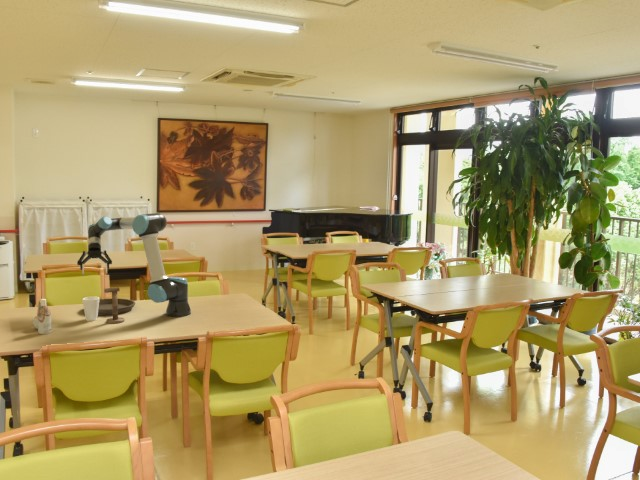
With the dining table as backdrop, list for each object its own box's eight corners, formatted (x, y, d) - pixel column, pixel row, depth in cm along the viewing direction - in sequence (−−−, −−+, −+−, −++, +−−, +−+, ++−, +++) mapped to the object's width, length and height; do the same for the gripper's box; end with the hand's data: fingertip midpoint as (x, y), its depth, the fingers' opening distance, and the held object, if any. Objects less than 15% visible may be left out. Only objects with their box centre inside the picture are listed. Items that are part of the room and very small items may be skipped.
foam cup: (83, 322, 345) (83, 300, 343) (82, 318, 353) (81, 297, 351) (101, 320, 349) (100, 299, 347) (99, 316, 357) (98, 296, 356)
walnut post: (126, 321, 347) (126, 288, 345) (109, 324, 341) (108, 290, 338) (120, 318, 355) (119, 285, 352) (103, 320, 348) (102, 287, 346)
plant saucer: (128, 302, 396) (128, 295, 395) (141, 312, 370) (141, 305, 370) (79, 307, 379) (79, 300, 379) (89, 318, 354) (89, 311, 353)
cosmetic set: (31, 324, 339) (29, 292, 337) (48, 322, 344) (47, 290, 342) (36, 335, 318) (34, 301, 316) (54, 333, 323) (53, 299, 321)
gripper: (115, 248, 381) (116, 275, 369) (73, 249, 372) (73, 277, 360) (115, 241, 375) (116, 268, 363) (73, 242, 366) (72, 270, 355)
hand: (94, 273), depth 362 cm, fingers open, 13 cm apart
